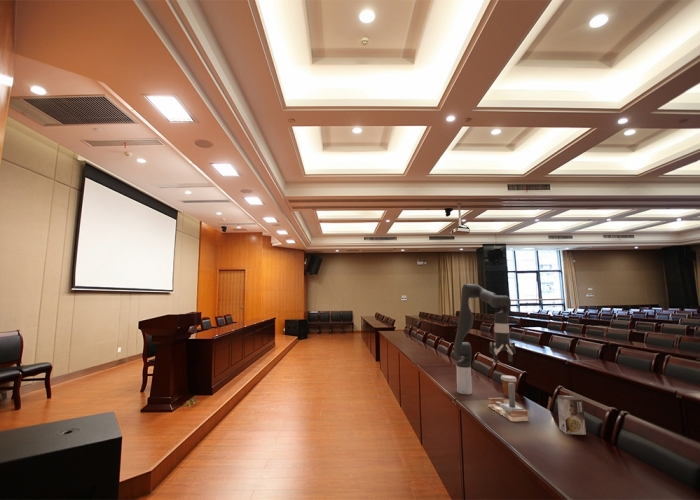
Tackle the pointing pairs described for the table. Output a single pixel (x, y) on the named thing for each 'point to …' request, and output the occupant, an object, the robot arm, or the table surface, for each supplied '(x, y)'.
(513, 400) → the carriage
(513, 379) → the disposable coffee cup
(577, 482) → the table surface
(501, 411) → the rail bed
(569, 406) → the coffee box
